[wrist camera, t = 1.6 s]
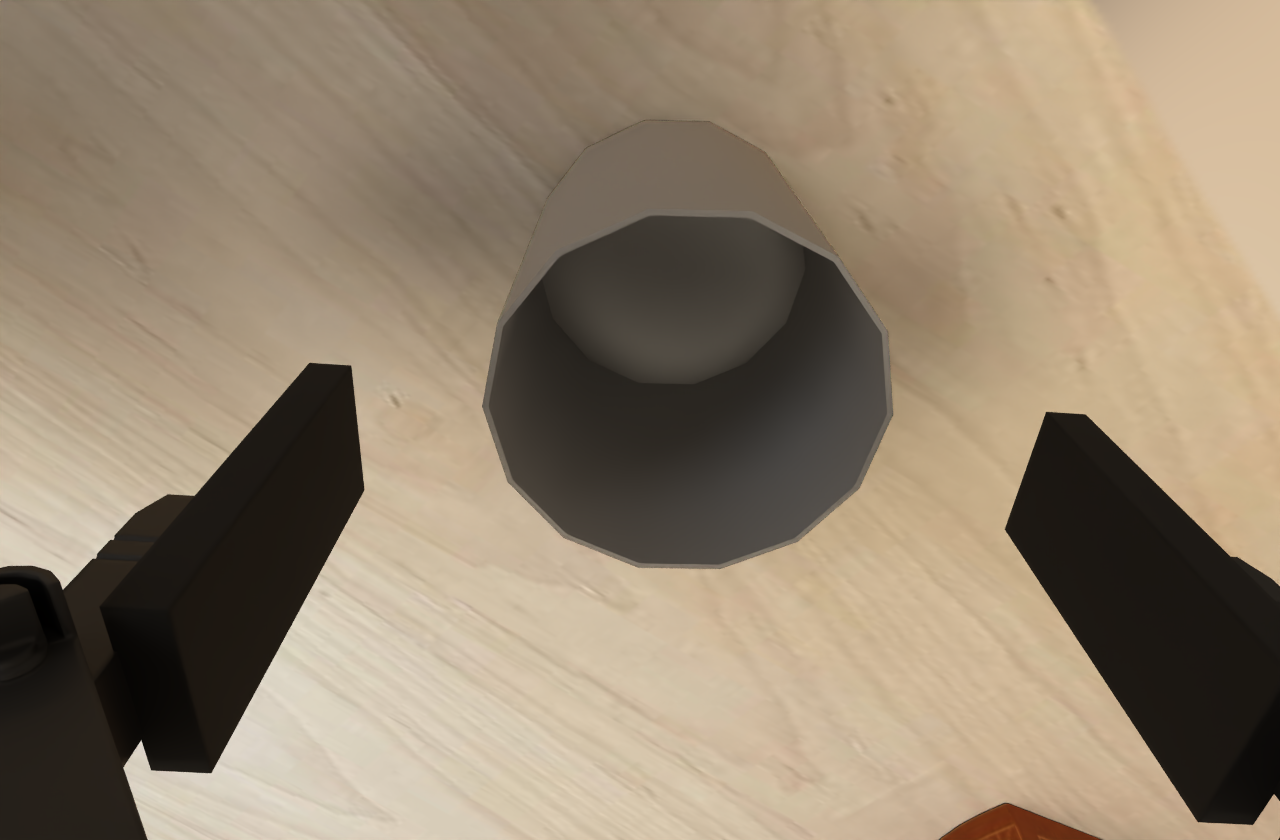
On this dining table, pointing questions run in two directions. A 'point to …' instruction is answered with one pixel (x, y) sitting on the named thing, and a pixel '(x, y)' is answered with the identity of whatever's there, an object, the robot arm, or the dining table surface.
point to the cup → (684, 356)
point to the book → (1013, 827)
